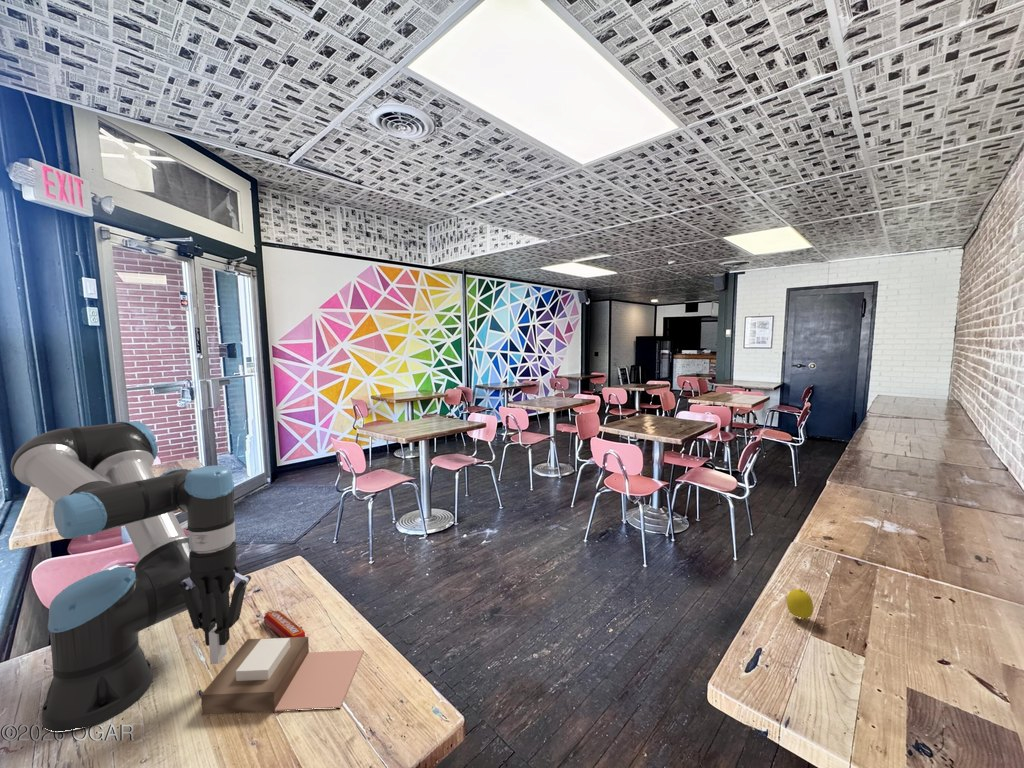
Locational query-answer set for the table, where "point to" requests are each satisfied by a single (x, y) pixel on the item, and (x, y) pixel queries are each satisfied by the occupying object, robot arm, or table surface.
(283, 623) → the candy bar
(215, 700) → the serving board
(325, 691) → the mat
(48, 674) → the table surface
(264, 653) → the tile
